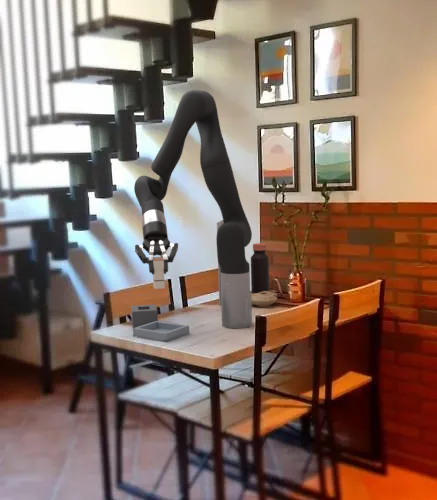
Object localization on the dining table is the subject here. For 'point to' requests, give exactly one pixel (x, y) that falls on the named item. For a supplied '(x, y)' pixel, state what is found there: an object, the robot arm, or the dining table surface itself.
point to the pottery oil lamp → (263, 298)
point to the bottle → (259, 269)
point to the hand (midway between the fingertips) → (159, 272)
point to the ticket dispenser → (143, 315)
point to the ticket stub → (158, 273)
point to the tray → (161, 331)
